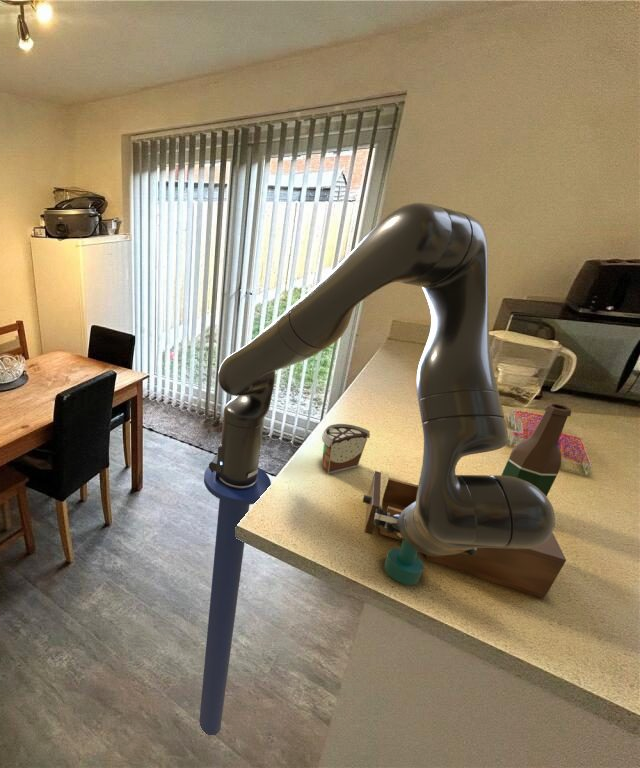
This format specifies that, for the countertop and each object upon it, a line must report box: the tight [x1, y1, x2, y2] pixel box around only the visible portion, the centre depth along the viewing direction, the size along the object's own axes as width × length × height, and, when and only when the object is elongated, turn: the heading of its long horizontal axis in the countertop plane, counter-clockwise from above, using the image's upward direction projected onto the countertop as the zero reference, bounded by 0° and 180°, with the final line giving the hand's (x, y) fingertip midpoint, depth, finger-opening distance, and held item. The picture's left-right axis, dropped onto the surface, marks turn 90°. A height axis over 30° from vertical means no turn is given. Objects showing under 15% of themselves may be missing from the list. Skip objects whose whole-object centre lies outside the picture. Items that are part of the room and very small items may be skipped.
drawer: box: [362, 470, 419, 542], centre depth 77 cm, size 16×13×7 cm
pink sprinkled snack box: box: [507, 408, 593, 477], centre depth 106 cm, size 30×15×5 cm, turn 139°
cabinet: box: [425, 531, 567, 600], centre depth 72 cm, size 16×14×9 cm
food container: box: [321, 423, 371, 474], centre depth 98 cm, size 12×6×10 cm, turn 108°
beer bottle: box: [501, 403, 572, 497], centre depth 80 cm, size 8×8×24 cm
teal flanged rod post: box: [383, 539, 424, 586], centre depth 67 cm, size 5×5×12 cm
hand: (410, 535), depth 68 cm, fingers closed on teal flanged rod post, 2 cm apart
